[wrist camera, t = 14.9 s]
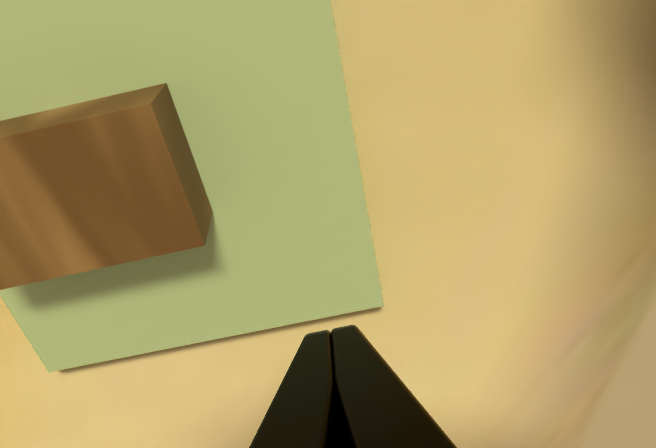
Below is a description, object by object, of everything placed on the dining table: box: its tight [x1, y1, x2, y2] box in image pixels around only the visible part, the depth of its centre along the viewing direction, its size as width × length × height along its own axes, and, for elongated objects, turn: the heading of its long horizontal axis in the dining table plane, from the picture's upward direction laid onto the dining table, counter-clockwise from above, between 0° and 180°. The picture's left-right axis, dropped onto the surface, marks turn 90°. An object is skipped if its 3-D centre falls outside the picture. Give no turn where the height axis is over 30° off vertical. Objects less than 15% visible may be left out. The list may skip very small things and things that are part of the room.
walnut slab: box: [0, 83, 213, 290], centre depth 18 cm, size 2×5×8 cm
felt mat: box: [0, 0, 384, 372], centre depth 19 cm, size 15×17×1 cm
